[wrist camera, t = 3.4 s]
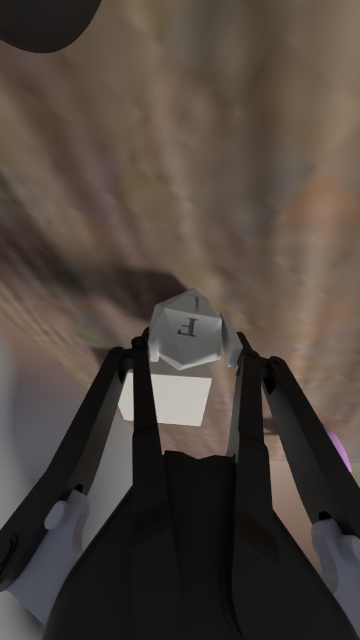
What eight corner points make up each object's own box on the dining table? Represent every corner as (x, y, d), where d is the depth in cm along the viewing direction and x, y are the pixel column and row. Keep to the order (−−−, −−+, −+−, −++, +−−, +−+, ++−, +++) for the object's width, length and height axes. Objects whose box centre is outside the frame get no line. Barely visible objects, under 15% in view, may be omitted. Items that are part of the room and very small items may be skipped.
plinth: (114, 353, 26) (103, 370, 23) (209, 359, 25) (211, 378, 22) (130, 402, 36) (124, 419, 32) (199, 407, 35) (200, 426, 32)
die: (225, 286, 18) (255, 333, 10) (206, 338, 23) (215, 399, 14) (161, 274, 18) (135, 311, 9) (156, 329, 22) (135, 386, 14)
